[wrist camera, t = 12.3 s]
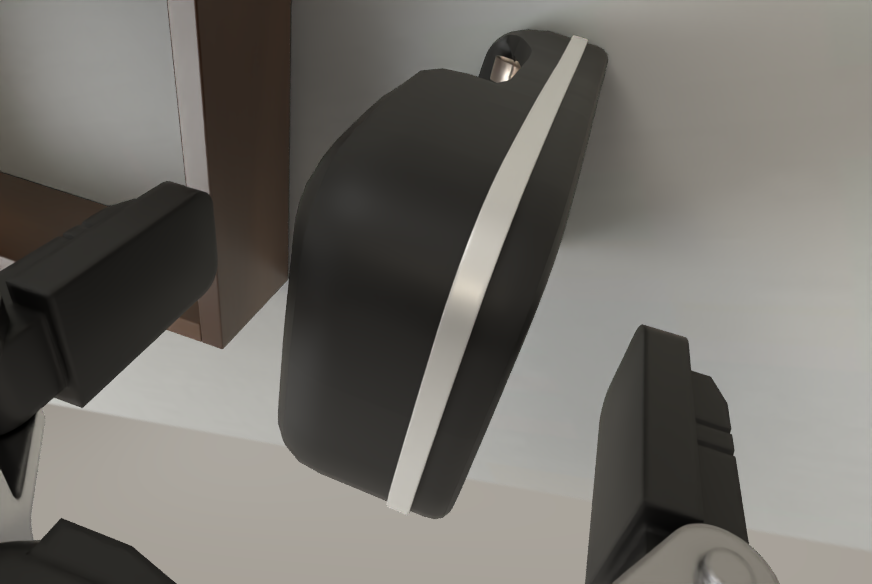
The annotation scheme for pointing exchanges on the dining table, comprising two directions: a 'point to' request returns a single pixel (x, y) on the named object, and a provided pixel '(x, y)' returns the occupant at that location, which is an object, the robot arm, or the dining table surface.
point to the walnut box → (207, 159)
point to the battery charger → (430, 265)
